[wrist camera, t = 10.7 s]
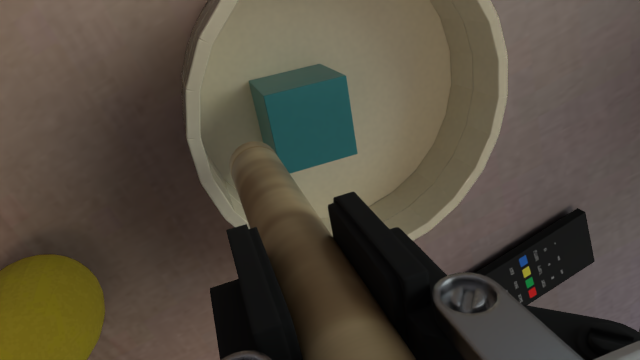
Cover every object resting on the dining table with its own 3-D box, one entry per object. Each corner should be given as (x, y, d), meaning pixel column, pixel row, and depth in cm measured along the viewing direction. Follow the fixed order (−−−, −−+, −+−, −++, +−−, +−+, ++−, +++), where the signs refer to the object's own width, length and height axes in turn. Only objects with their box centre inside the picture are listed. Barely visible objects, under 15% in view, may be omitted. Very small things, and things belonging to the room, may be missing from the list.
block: (265, 150, 25) (281, 176, 22) (248, 80, 24) (263, 95, 20) (331, 132, 26) (358, 154, 23) (320, 63, 25) (346, 75, 21)
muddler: (235, 192, 19) (346, 507, 7) (223, 148, 18) (325, 425, 6) (282, 179, 19) (455, 457, 8) (271, 135, 18) (448, 374, 7)
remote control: (580, 252, 38) (594, 261, 37) (333, 411, 36) (339, 426, 35) (570, 204, 35) (585, 212, 34) (305, 372, 33) (310, 386, 32)
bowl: (226, 255, 28) (239, 305, 23) (136, -34, 21) (129, -40, 16) (458, 181, 31) (507, 212, 27) (446, -89, 24) (509, -107, 20)
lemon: (127, 292, 27) (115, 400, 20) (28, 329, 26) (-23, 457, 19) (86, 213, 24) (55, 303, 17) (-25, 249, 23) (-107, 362, 16)
